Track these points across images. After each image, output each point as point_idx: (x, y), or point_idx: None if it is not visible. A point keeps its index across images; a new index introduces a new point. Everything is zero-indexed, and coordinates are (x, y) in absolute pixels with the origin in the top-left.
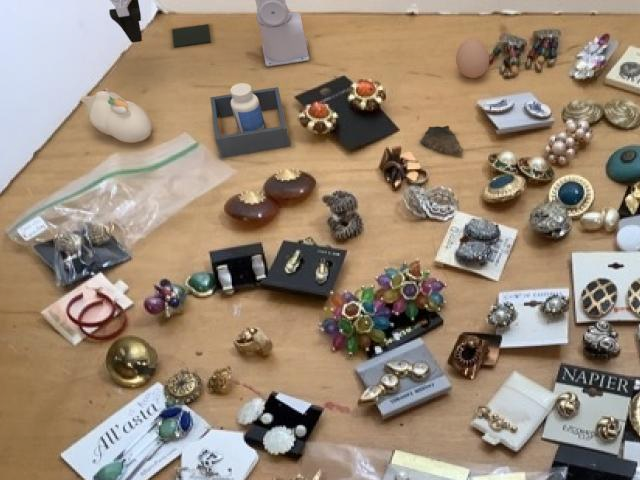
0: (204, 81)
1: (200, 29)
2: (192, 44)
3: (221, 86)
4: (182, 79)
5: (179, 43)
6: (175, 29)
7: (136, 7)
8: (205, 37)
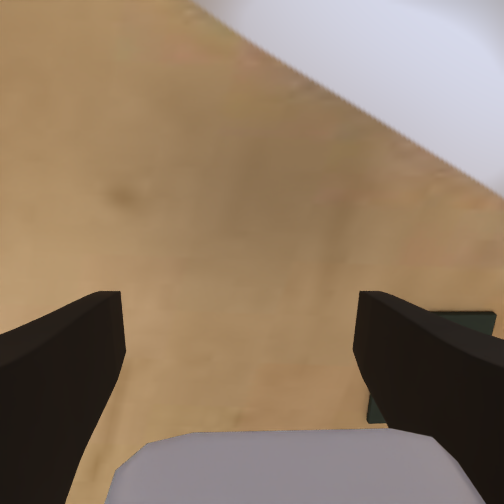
0: (148, 393)
1: None
2: None
3: (109, 436)
4: (176, 330)
5: None
6: (488, 324)
7: (392, 416)
8: None
